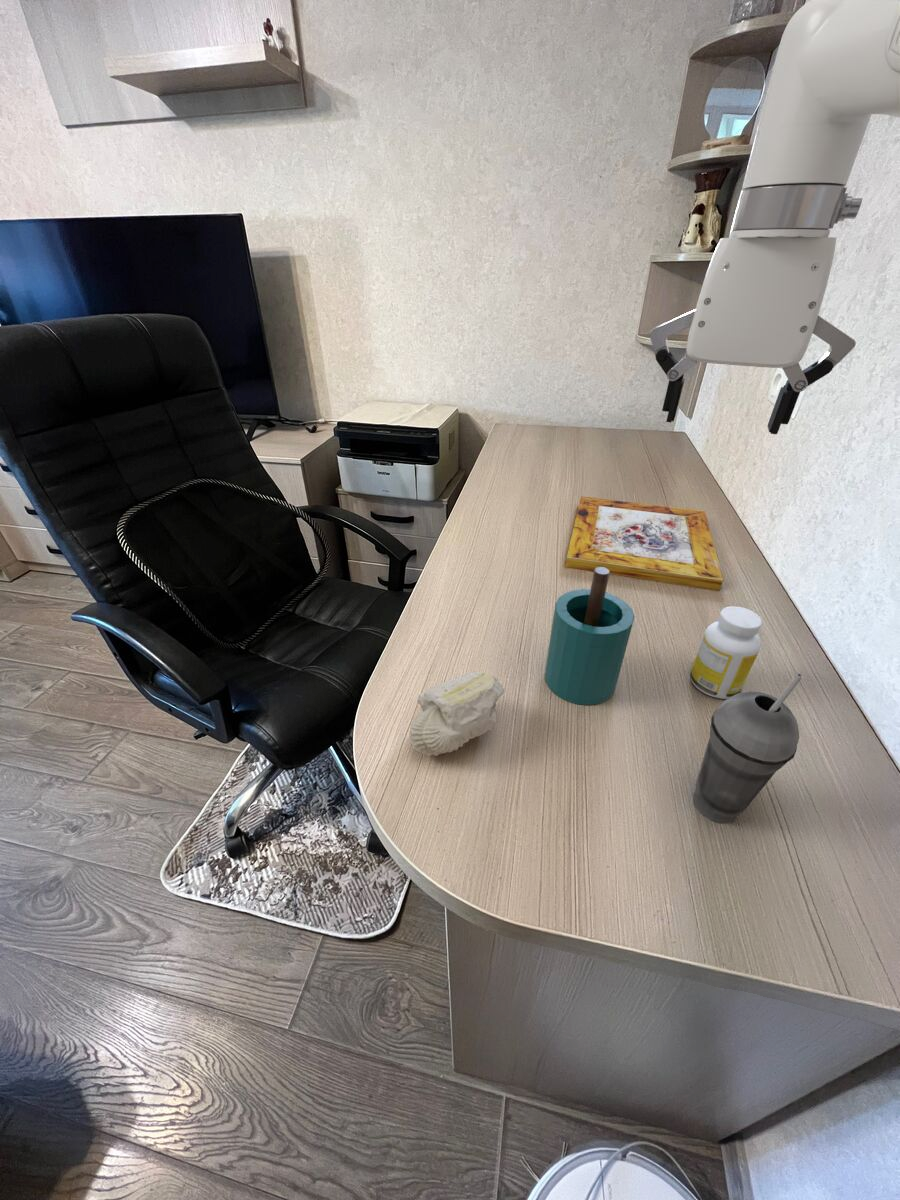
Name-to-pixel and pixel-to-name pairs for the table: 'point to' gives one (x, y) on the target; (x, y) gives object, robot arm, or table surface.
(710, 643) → the pill bottle
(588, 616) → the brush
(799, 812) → the table surface
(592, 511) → the picture frame
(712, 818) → the beverage cup
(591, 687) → the jar
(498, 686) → the fossil replica
